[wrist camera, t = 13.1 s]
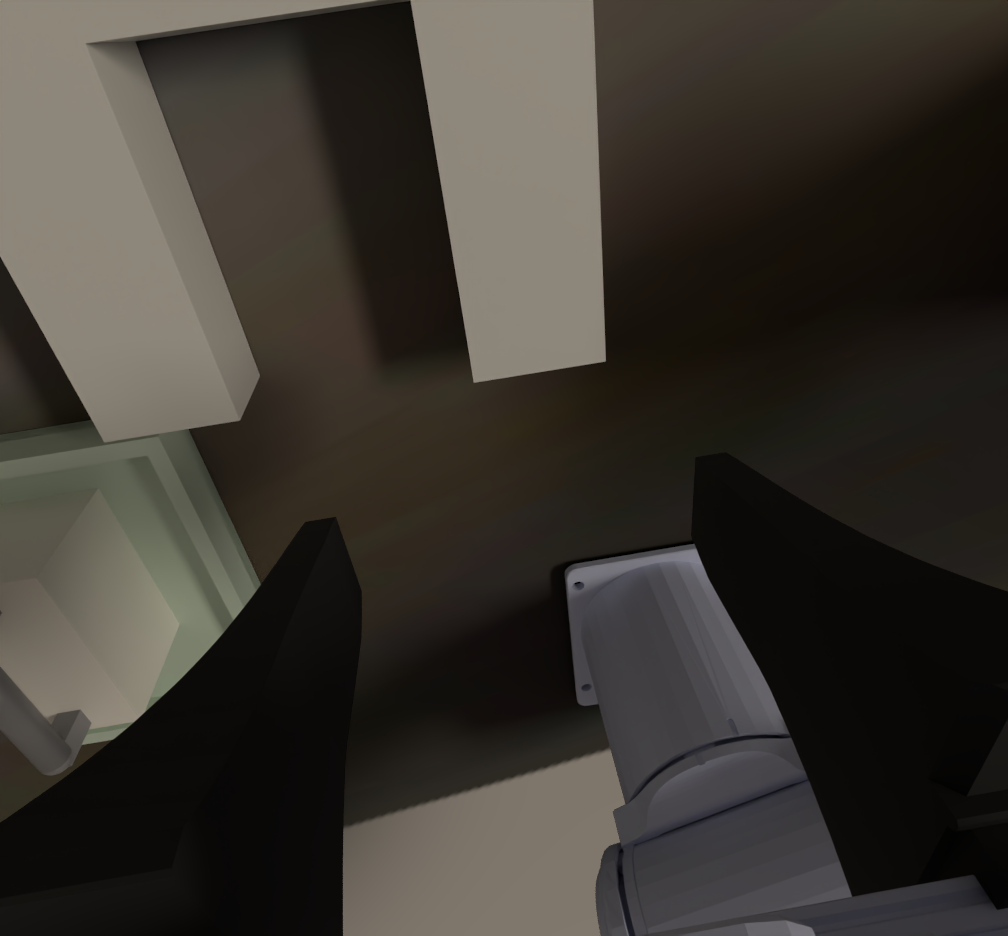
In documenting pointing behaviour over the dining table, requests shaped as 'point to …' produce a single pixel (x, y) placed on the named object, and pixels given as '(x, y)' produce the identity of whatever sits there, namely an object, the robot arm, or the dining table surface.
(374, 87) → the dining table surface
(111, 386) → the bay
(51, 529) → the block with grey handle
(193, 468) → the tray
